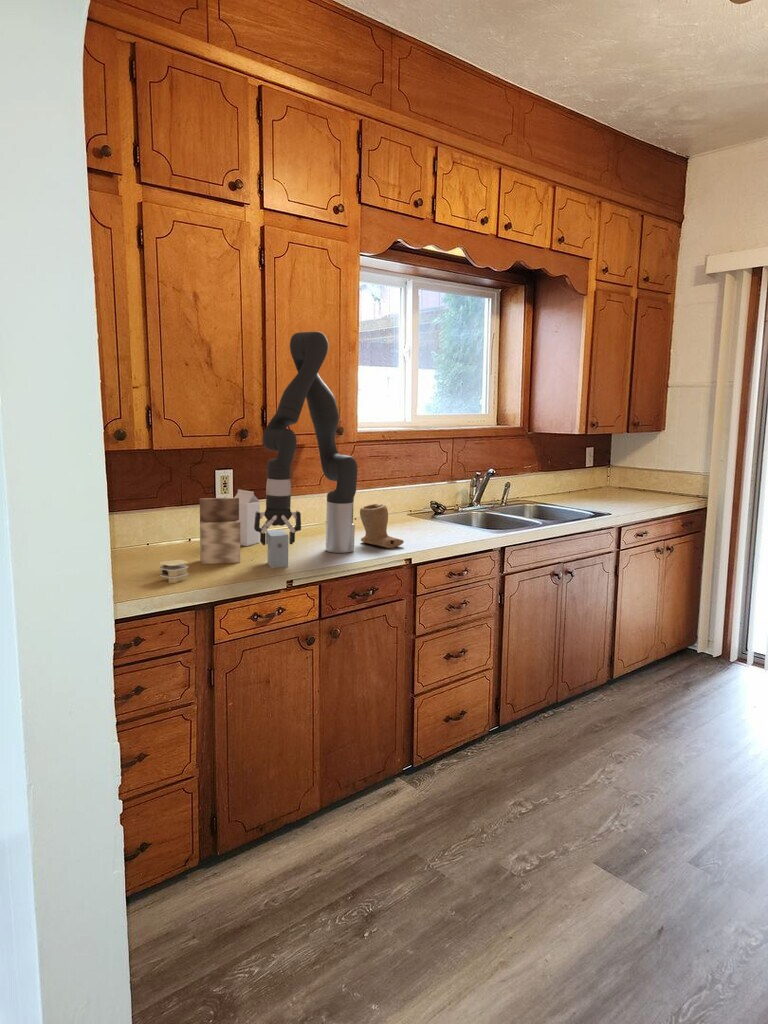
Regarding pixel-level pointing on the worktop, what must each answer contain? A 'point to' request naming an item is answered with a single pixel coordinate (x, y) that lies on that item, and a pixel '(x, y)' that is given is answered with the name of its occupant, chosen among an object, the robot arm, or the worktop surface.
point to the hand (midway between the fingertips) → (277, 544)
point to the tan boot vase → (377, 526)
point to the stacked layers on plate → (174, 570)
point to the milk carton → (248, 517)
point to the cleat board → (219, 530)
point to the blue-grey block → (277, 548)
